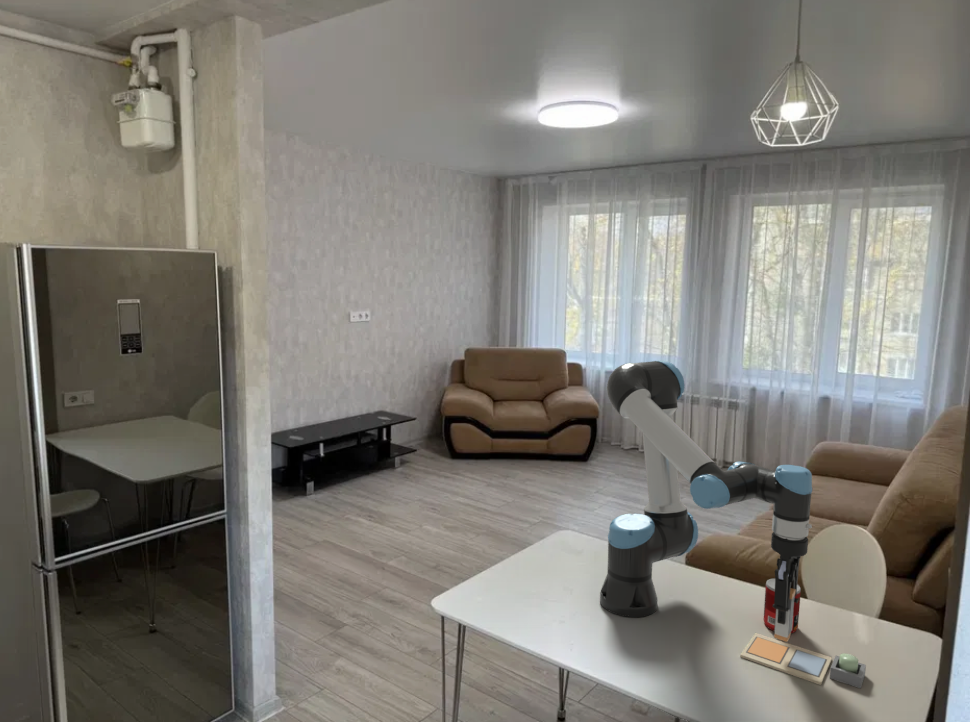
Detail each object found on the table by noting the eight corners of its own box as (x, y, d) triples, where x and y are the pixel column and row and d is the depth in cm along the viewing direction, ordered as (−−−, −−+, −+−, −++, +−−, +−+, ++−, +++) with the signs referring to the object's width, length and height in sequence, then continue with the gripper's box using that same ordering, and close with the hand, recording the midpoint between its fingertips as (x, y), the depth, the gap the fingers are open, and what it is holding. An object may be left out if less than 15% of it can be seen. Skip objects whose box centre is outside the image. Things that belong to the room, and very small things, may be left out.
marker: (773, 637, 152) (777, 590, 150) (776, 632, 154) (781, 585, 153) (787, 642, 150) (792, 594, 148) (791, 636, 152) (795, 589, 151)
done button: (837, 670, 145) (838, 658, 145) (840, 662, 148) (841, 651, 147) (855, 676, 143) (856, 664, 142) (858, 668, 146) (859, 657, 145)
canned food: (801, 636, 162) (804, 593, 160) (766, 632, 164) (769, 590, 162) (793, 620, 169) (796, 579, 168) (760, 616, 171) (763, 576, 170)
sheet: (740, 656, 153) (740, 654, 153) (755, 635, 162) (755, 632, 162) (820, 685, 142) (821, 681, 142) (831, 659, 152) (831, 657, 152)
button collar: (829, 678, 145) (830, 667, 145) (834, 665, 150) (835, 655, 149) (860, 688, 141) (861, 677, 141) (864, 675, 146) (865, 664, 146)
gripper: (799, 549, 140) (792, 652, 143) (815, 527, 153) (808, 622, 156) (762, 541, 145) (756, 641, 148) (781, 520, 158) (775, 612, 160)
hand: (783, 631), depth 152 cm, fingers closed on marker, 3 cm apart
